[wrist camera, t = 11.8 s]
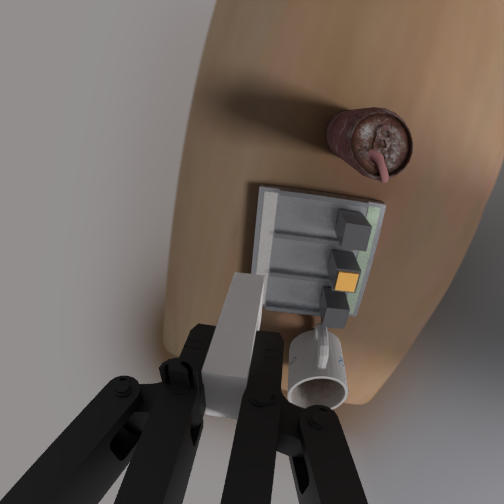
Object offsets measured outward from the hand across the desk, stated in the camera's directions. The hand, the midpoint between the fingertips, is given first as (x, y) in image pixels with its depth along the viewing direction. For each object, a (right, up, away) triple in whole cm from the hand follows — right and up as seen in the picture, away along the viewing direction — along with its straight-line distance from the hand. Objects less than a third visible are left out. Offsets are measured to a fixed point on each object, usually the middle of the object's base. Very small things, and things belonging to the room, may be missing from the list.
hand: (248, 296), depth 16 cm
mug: (+11, -12, +32) cm, 36 cm away
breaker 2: (+12, +6, +21) cm, 25 cm away
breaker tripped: (+12, +1, +23) cm, 26 cm away
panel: (+8, +2, +25) cm, 27 cm away
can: (+12, +16, +19) cm, 28 cm away
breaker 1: (+11, -4, +26) cm, 28 cm away
